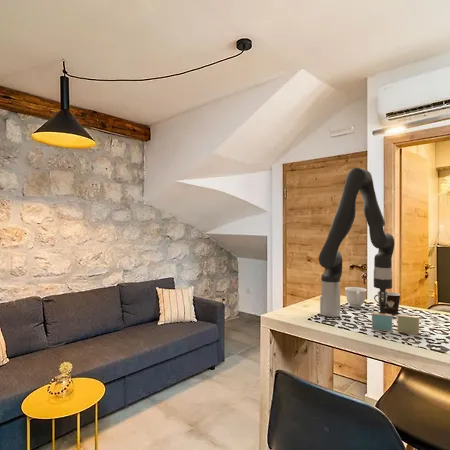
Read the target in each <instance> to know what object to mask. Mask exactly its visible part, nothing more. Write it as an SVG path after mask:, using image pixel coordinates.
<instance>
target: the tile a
mask: <svg viewBox="0 0 450 450" xmlns="http://www.w3.org/2000/svg"><path fill="white" fill-rule="evenodd" d="M371 330H376V331H381V332H383V331H385V332H390V333H392V332H393V314H387V313H385V314H381V313H380V312H371Z"/></svg>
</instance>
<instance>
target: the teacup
mask: <svg viewBox="0 0 450 450" xmlns="http://www.w3.org/2000/svg"><path fill="white" fill-rule="evenodd" d="M344 290H345V296H346V301H347V303H348V304H349V306H350V307H351V308H354V309H355V308H357V309H361V308H362V305H364V304H365V301H366V293H367V292H368V288H367V289H366V288H364V287H361V286H360V287H359V286H345V287H344Z"/></svg>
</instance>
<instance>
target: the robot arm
mask: <svg viewBox="0 0 450 450" xmlns="http://www.w3.org/2000/svg"><path fill="white" fill-rule="evenodd" d="M342 189H343V190H342V194H341V196H340V200H339V202H338V205H337V209H336V212H335V213H334V216H333V218H332V223H331V226H330V229H329V232H328V234H327V236H326V240H325V241H324V244H323V246H322V249H321V250H320V253H319V255H318V262H319V264H320V266H321V268H324V271H323V273H322V274H321V280H320V282H321V283H320V284H321V286H320V289H321V290H320V297H319V310H320V311H319V314H320V316H324V317H329V318H337V317H340V316H341V277H342V275H343V255H342V253H341V252H340V251H339V248H340V246H341V244H342V242H343V241H344V239H346V237H347V235H348V234H349V232H350V231H351V229H352V227H353V224H354V222H355V218H356V214H357V213H356V211H357V208H356V207H357V206H356V203H357V202H356V201H357V197H358V194H359V192H360V194H361V197H362V202H363V213H364V217H365V220H366V223H367V225H368V231H369V232H368V233H369V238H370V242H371V244H372V246H373V247H374V248H376V249H377V250H378V252H377V253H376V254H375V255H374V259H373V260H374V261H373V264H374V267H373V288H375V289H378V291H377V295H378V296H377V298H378V299H377V300H378V301H377V302H379V303H380V304H378V306H379V313H381V314H386V313H385V308H386V303H387V297H388V292H389V291H386V290H390V289H393V270H392V261H393V260H392V257H393V254H394V250H395V244H396V243H395V237H394V236H393V235H392V234H391V233H388V232H385V230H384V227H385V225H386V221H385V218H384V216H383V212H382V211H381V208H380V205H379V202H378V198H377V195H376V194H377V193H376V190H375V185H374V179H373V176H372V173H371V171H369V170H367V169H364V168H361V167H353V168H351V169H350V170H349V171H348V172H347V175H346V177H345V182H344V186H343V188H342Z"/></svg>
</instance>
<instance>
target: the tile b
mask: <svg viewBox="0 0 450 450" xmlns="http://www.w3.org/2000/svg"><path fill="white" fill-rule="evenodd" d="M396 324H397V325H396V327H397V332H400V333H406V334H413V335H414V334H415V335H420V316H416V315H406V314H399V313H398V314H397V323H396Z"/></svg>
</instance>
